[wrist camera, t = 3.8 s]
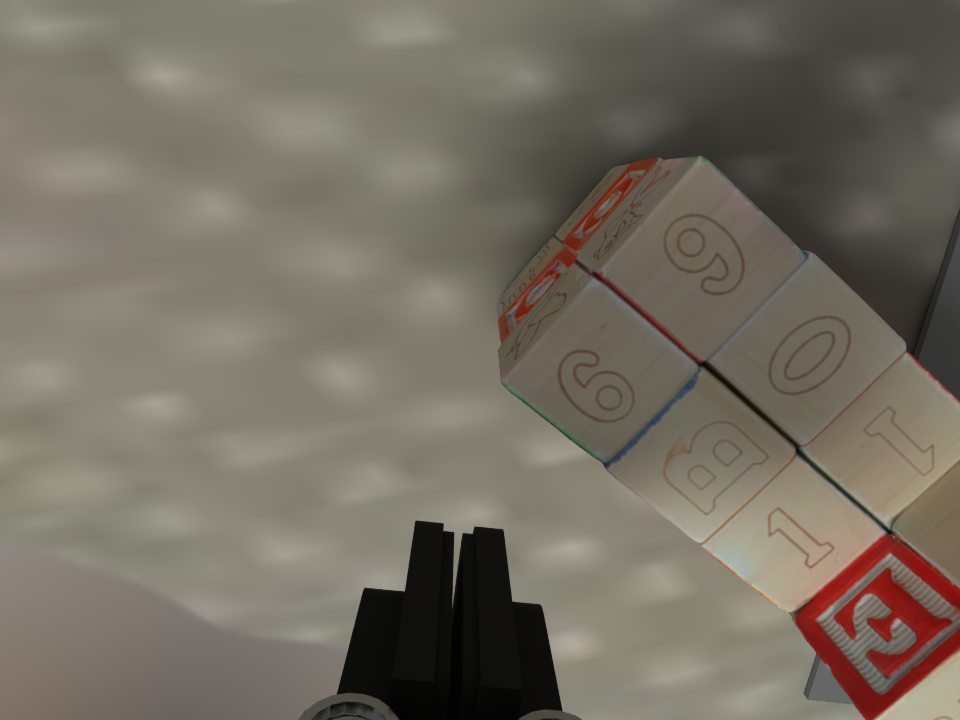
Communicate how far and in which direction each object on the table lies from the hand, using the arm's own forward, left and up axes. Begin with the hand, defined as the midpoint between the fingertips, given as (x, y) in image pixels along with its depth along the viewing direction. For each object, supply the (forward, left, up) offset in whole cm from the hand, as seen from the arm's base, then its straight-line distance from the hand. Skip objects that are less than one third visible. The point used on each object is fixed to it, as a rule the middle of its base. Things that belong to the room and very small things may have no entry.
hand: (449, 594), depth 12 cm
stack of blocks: (-11, 0, -12) cm, 16 cm away
